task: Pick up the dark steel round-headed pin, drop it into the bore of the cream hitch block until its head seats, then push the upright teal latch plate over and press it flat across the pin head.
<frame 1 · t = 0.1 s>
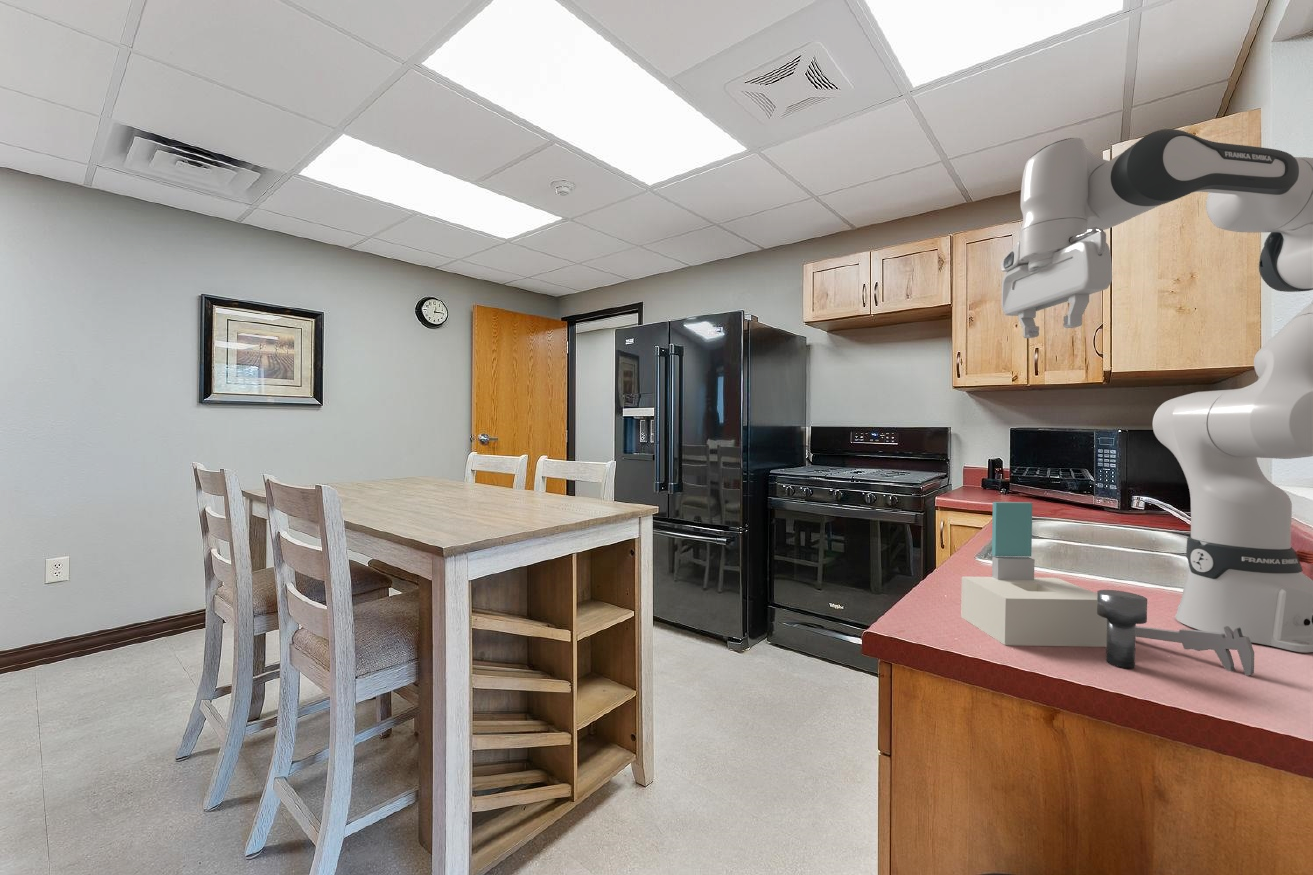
hand: (1050, 332, 88), 48 cm above the counter, tool pointing down, fingers open, 8 cm apart
hitch block: (1032, 630, 87), on the counter
latch: (1011, 529, 92), point 15 cm above the counter, hinge at 90.0°
pin: (1120, 664, 75), on the counter
caliper: (1154, 650, 80), on the counter
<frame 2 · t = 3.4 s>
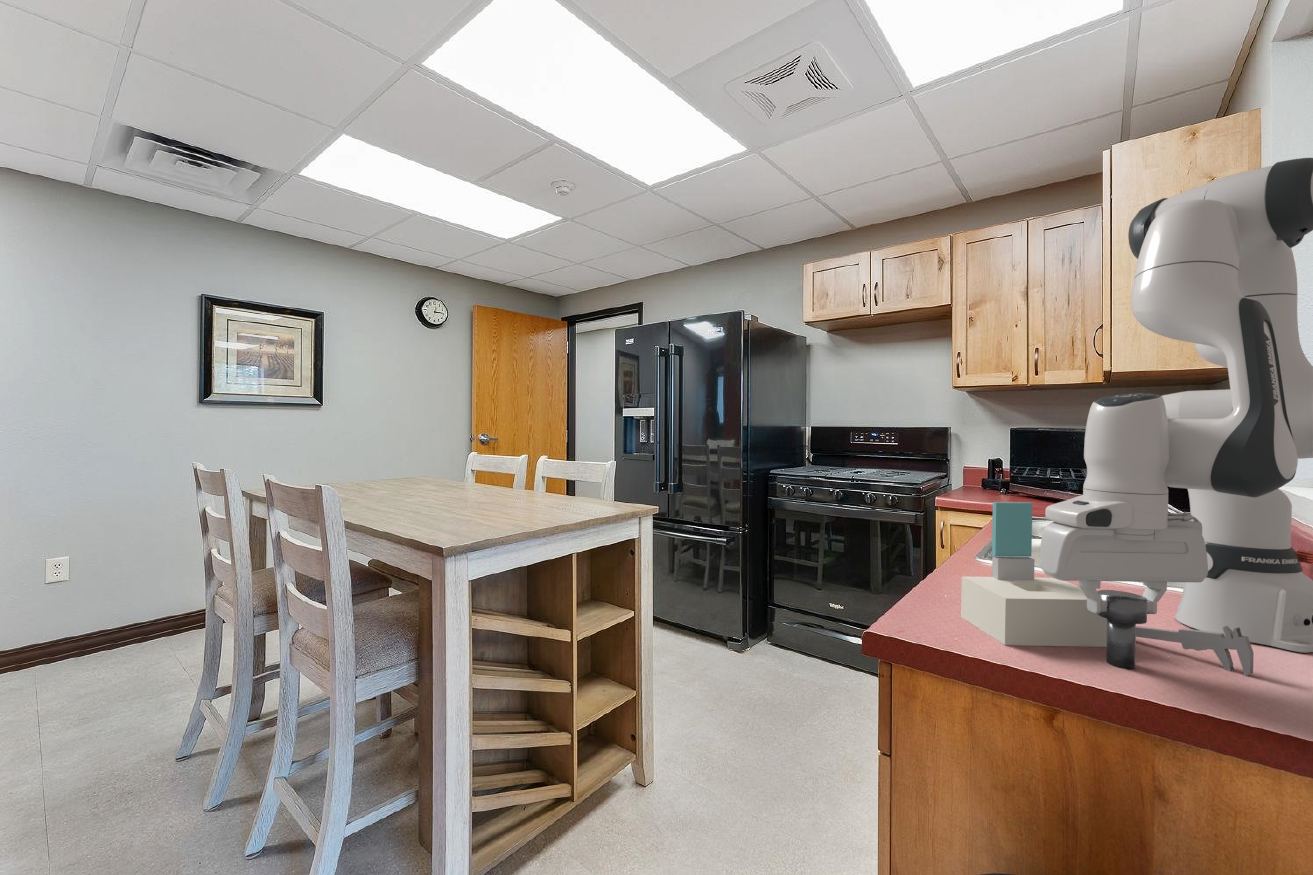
hand: (1121, 612, 74), 7 cm above the counter, tool pointing down, fingers closed on pin, 5 cm apart
pin: (1120, 664, 75), on the counter, touching gripper
everything else where it was.
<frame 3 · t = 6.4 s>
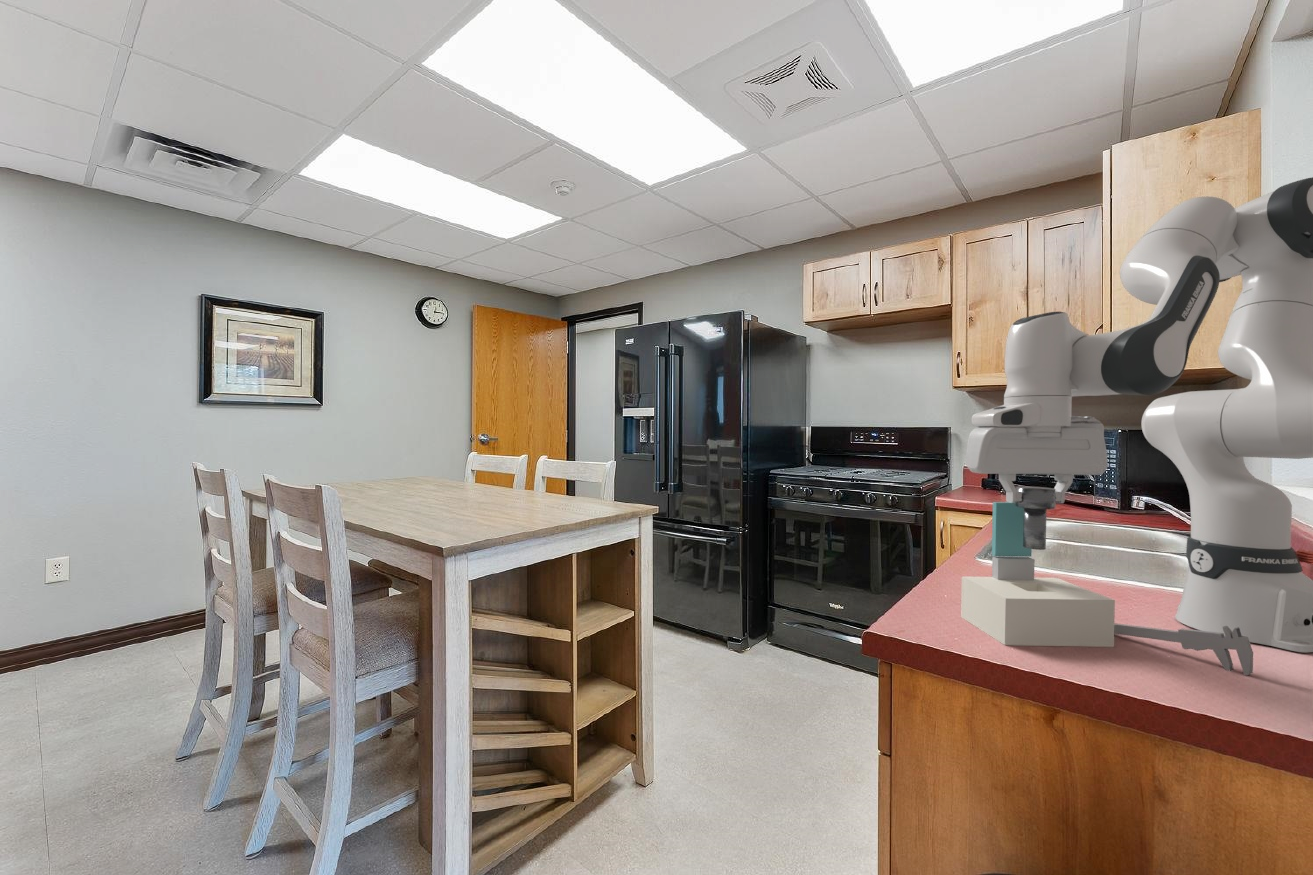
hand: (1034, 502, 86), 21 cm above the counter, tool pointing down, fingers closed on pin, 5 cm apart
pin: (1034, 547, 86), point 13 cm above the counter, touching gripper
everything else where it was.
when the fingers open (9 cm above the counter, at t = 9.4 s): pin stays where it is, resting on hitch block.
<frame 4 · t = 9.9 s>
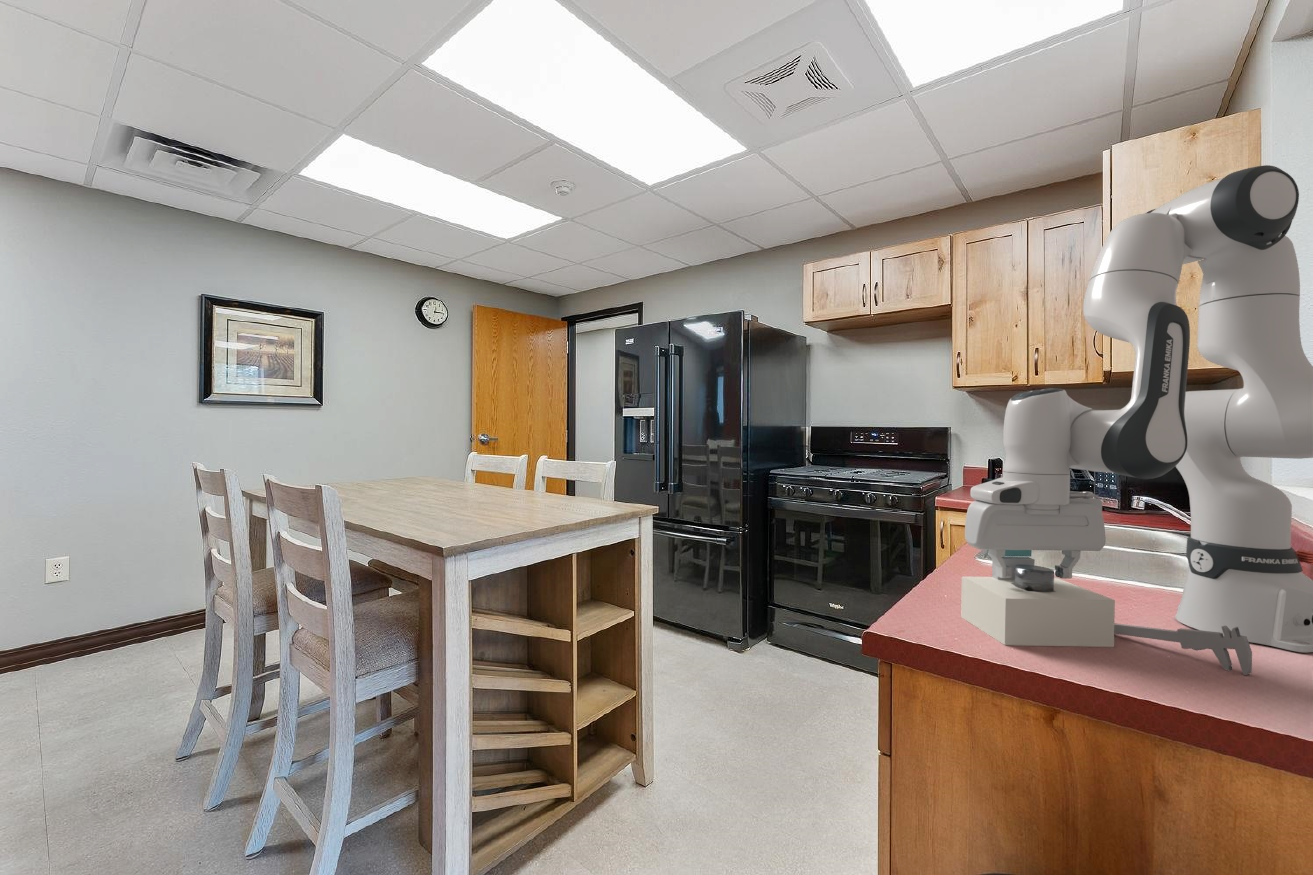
hand: (1033, 577, 87), 9 cm above the counter, tool pointing down, fingers open, 8 cm apart
pin: (1032, 627, 87), resting on hitch block
everything else where it was.
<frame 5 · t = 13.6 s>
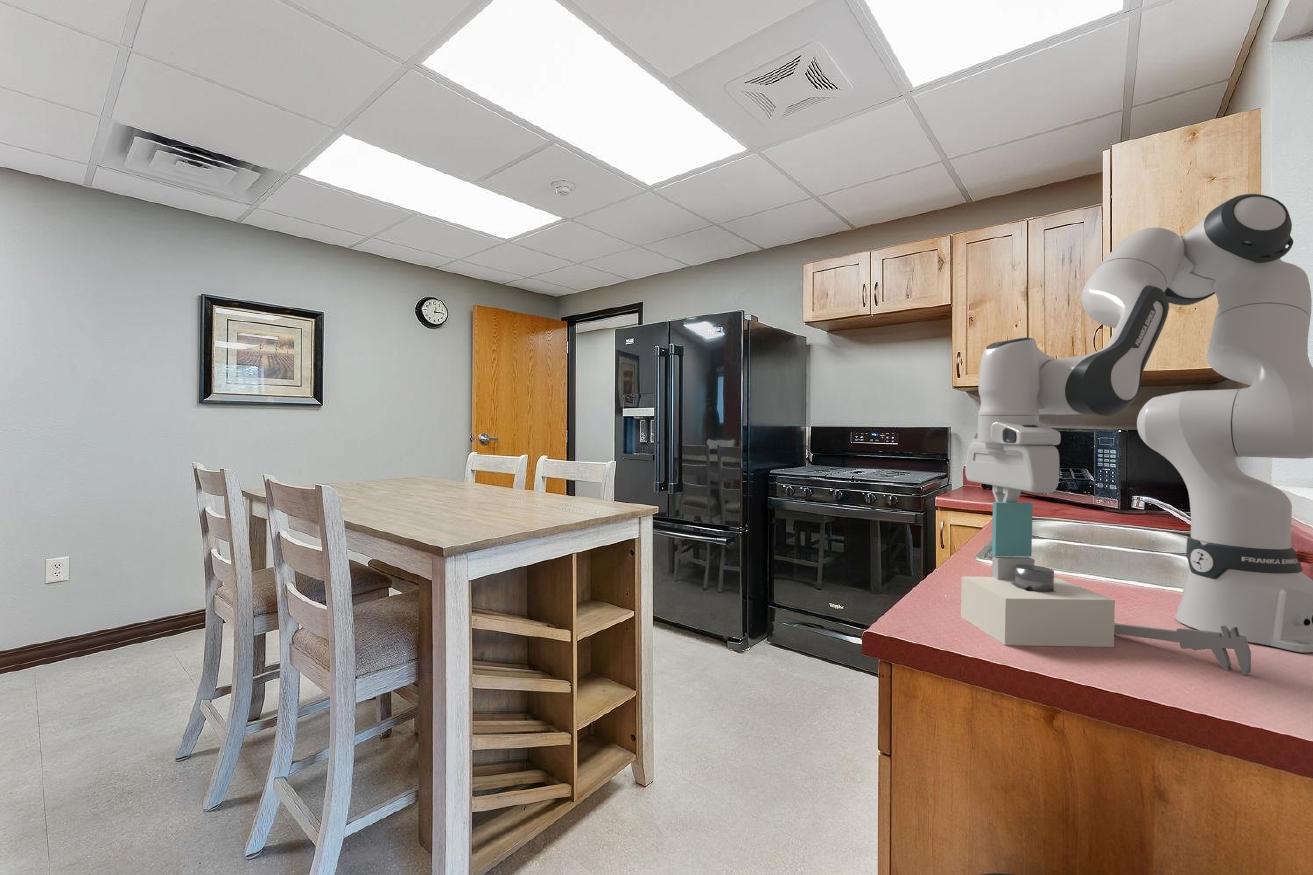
hand: (1005, 513, 94), 18 cm above the counter, tool pointing down, fingers closed
latch: (1012, 529, 92), point 15 cm above the counter, hinge at 89.7°, touching gripper
everything else where it was.
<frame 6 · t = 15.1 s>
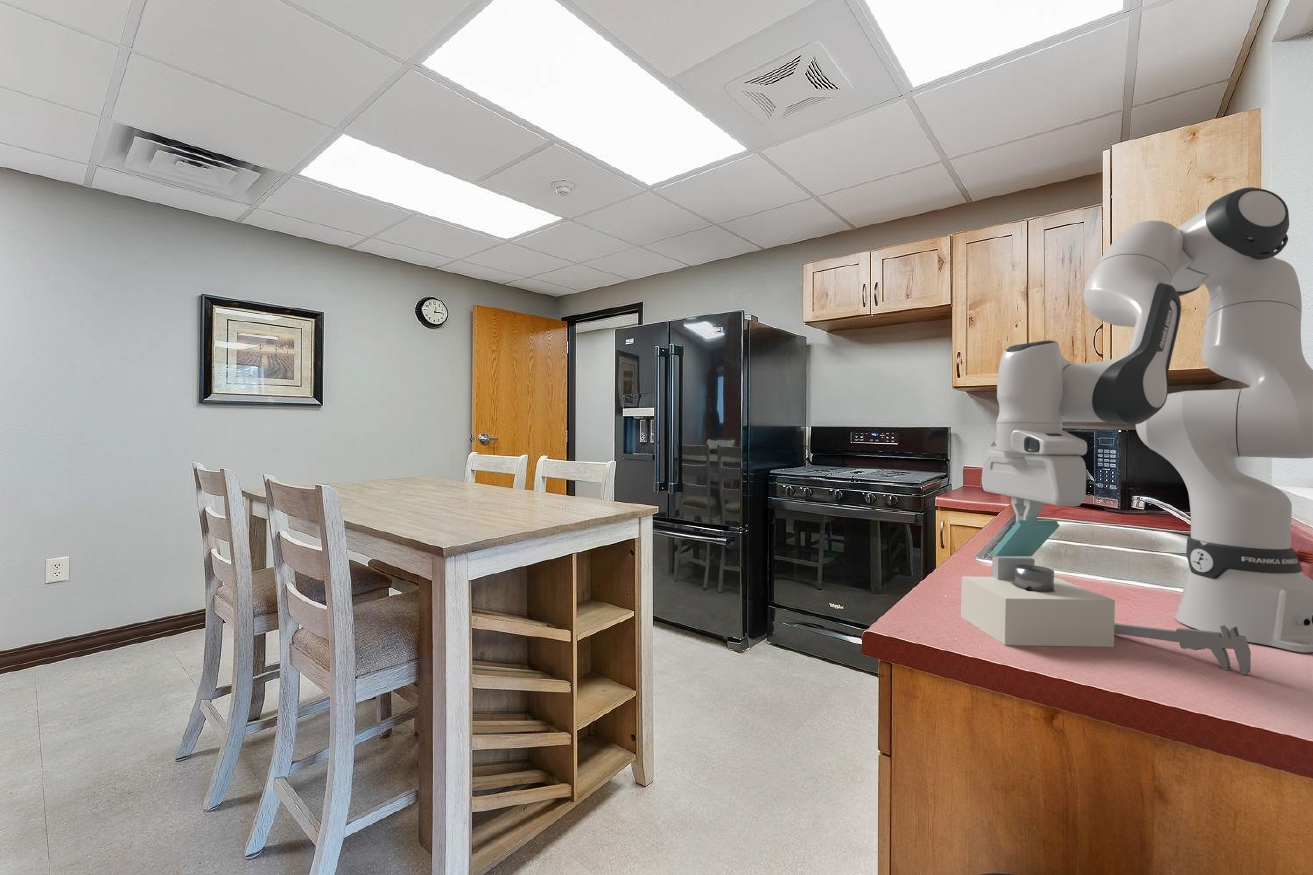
hand: (1026, 526, 88), 16 cm above the counter, tool pointing down, fingers closed
latch: (1024, 538, 89), point 14 cm above the counter, hinge at 44.5°, touching gripper
everything else where it was.
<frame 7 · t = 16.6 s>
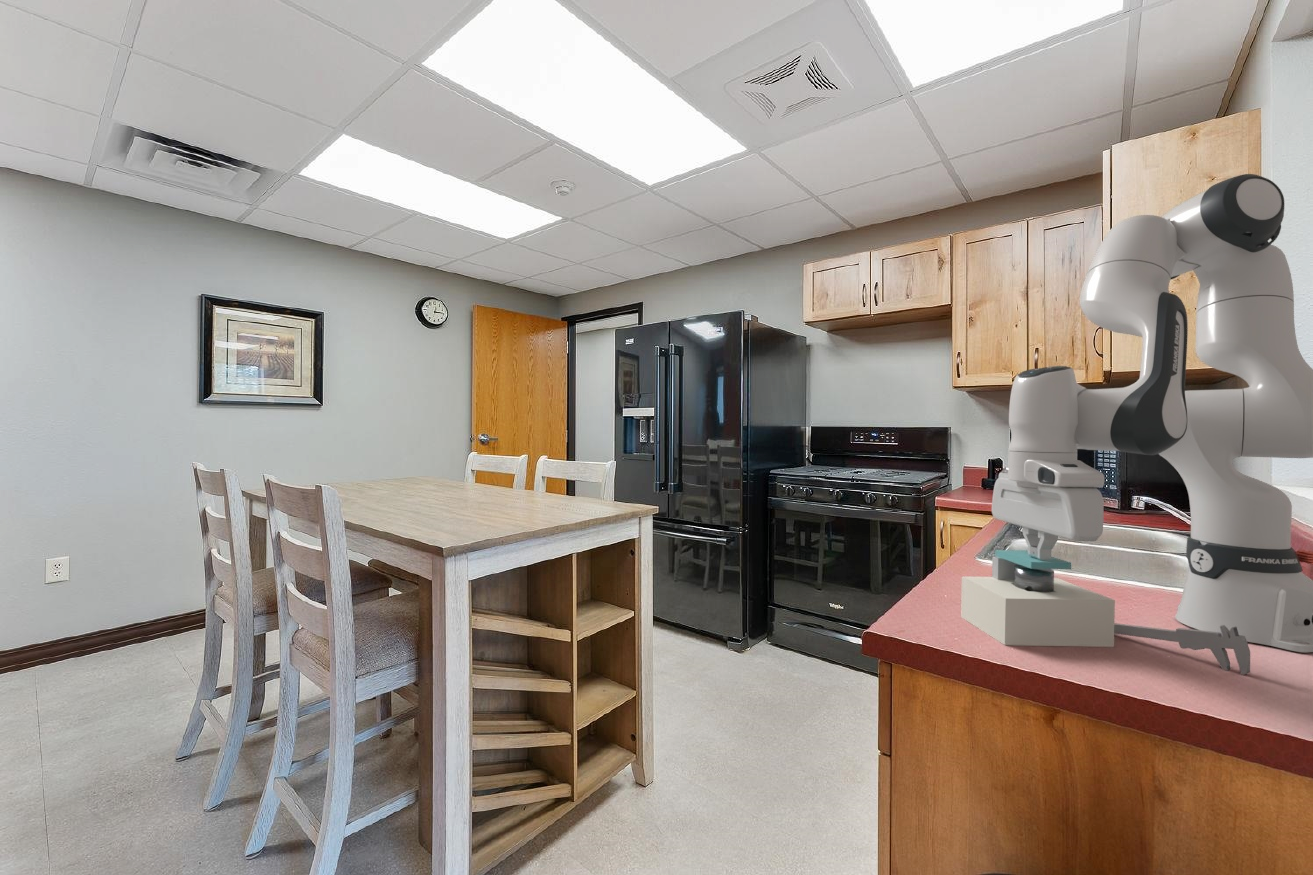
hand: (1039, 558, 85), 12 cm above the counter, tool pointing down, fingers closed, pressing on latch
latch: (1031, 559, 87), point 11 cm above the counter, hinge at 1.2°, touching gripper
everything else where it was.
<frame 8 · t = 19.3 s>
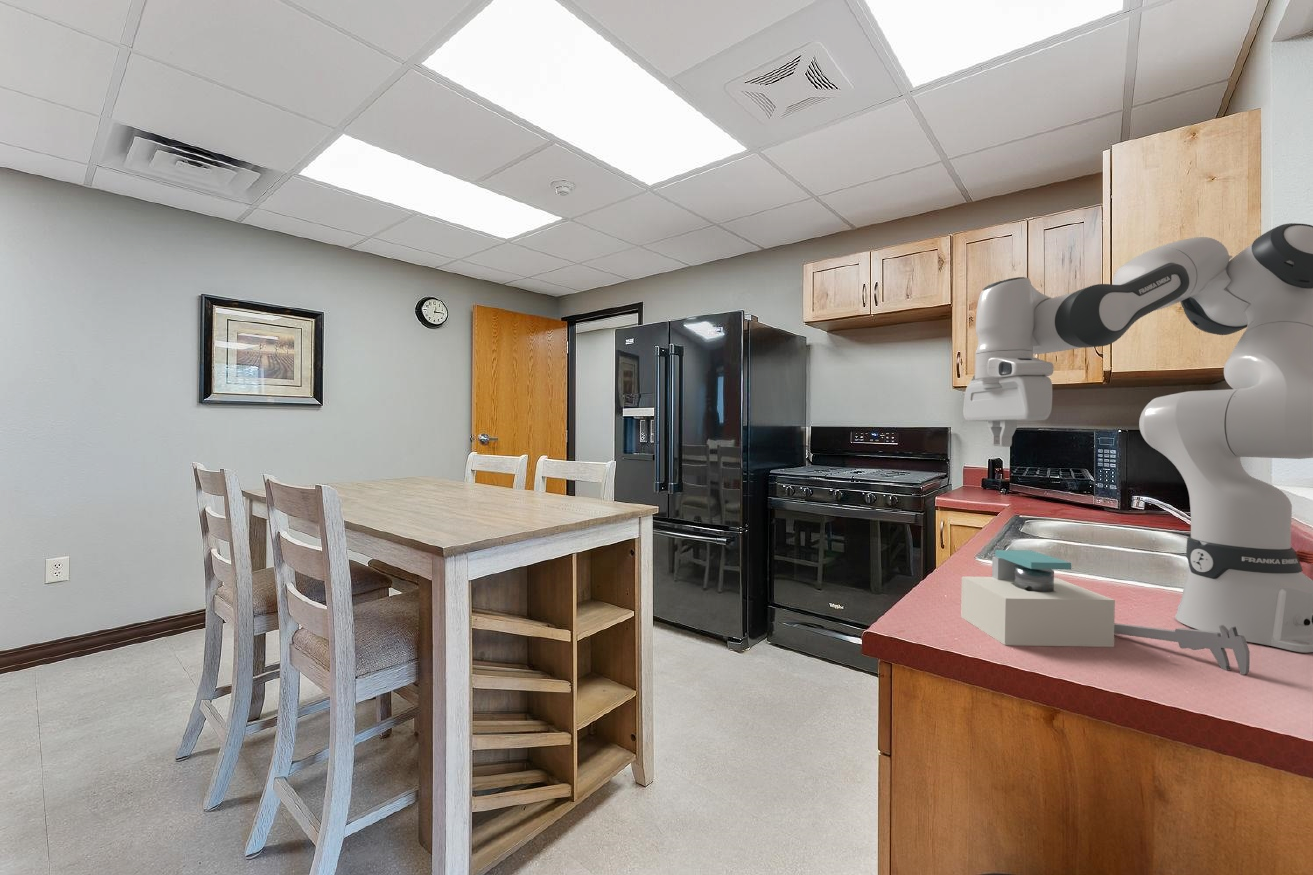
hand: (1001, 446, 98), 29 cm above the counter, tool pointing down, fingers closed
latch: (1031, 559, 87), point 11 cm above the counter, hinge at 1.0°
everything else where it was.
at the end: pin 0.1 cm off-centre on the hitch block, point 0.5 cm above the hitch block's base; pin tilted 0°; latch at +1° (first picture: +90°) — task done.
